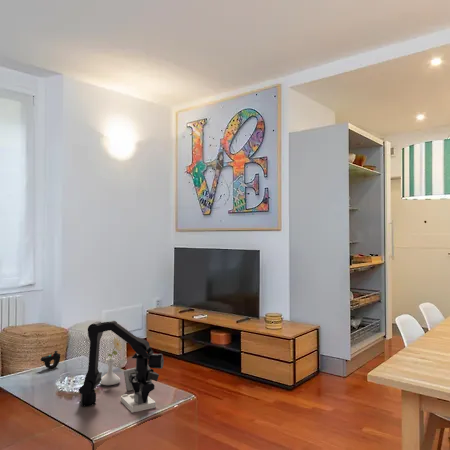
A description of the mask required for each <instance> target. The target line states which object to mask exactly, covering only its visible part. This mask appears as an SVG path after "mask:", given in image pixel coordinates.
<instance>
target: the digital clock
mask: <svg viewBox="0 0 450 450" xmlns="http://www.w3.org/2000/svg"><path fill="white" fill-rule="evenodd" d="M134 369H136V366H135V367H130V368H128V369H125V370H123V375H124V383H125V389H126V391H128V392H130V391H134V390H133V387H132V385H131V383H130V381H129V376H130V375H131V374H136V372H135V371H134ZM148 369H151V368H150V367H149V366H148ZM146 382H152V383H153V380H151V379H150V381H146Z"/></svg>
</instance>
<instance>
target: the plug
mask: <svg viewBox="0 0 450 450" xmlns="http://www.w3.org/2000/svg"><path fill="white" fill-rule="evenodd" d="M133 394H134V401H135V402H136V403H137V404H138V405H139V404H144V403H143V400H142V397H141V394H140V392H136V393H135V392H133ZM146 403H148V398H147V401H146Z"/></svg>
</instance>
